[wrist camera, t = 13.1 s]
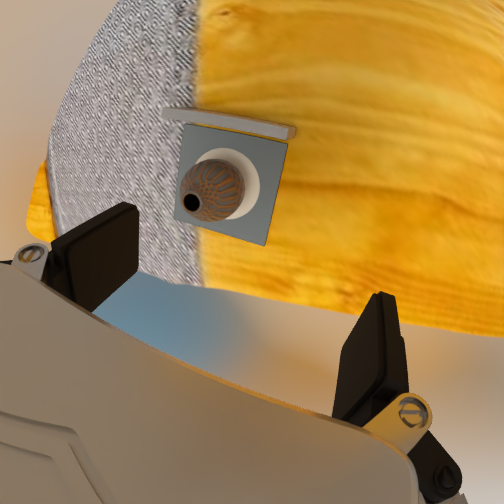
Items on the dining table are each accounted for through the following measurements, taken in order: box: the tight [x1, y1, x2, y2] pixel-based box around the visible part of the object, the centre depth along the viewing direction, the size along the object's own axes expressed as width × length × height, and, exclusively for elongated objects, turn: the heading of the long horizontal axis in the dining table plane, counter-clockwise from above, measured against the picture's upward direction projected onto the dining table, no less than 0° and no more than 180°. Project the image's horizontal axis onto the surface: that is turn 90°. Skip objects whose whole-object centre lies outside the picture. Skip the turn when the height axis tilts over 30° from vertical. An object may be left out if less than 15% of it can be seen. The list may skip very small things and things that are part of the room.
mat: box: [174, 124, 288, 246], centre depth 36 cm, size 13×13×1 cm
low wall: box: [161, 107, 296, 140], centre depth 30 cm, size 1×14×5 cm, turn 79°
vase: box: [179, 159, 245, 222], centre depth 31 cm, size 7×7×9 cm
